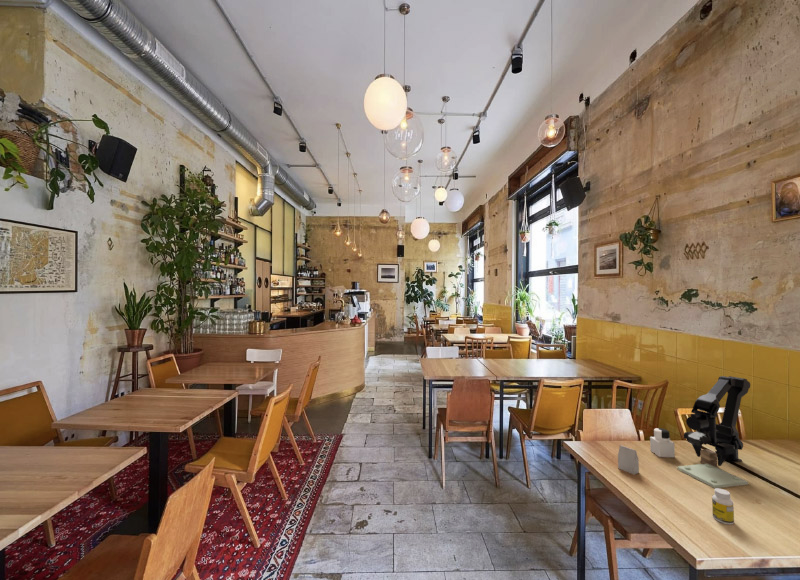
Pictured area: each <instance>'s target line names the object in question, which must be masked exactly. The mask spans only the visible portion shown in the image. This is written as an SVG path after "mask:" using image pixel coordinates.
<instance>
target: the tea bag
mask: <svg viewBox="0 0 800 580" xmlns="http://www.w3.org/2000/svg"><path fill="white" fill-rule="evenodd" d="M617 453H618V454H617V467H618V469H619V470H621V471H623V472H626V473H629V474H631V475H633V476H635V475H637V474H639V473H640V470H639V469H640V466H639V464H640V463H639V456H638V453H637V450H636V449H633V448H630V447H627V446H625V445H622V444H620V445H619V448H618V452H617Z"/></svg>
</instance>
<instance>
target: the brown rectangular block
mask: <svg viewBox="0 0 800 580" xmlns="http://www.w3.org/2000/svg"><path fill="white" fill-rule="evenodd" d="M700 452H701V455H700V464H706V463H708V464H710V465H712V466H714V467H717V468H718V460H717V454H716V452H715V451H713V450H710V449H708V448H707V449H701V450H700Z"/></svg>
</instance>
